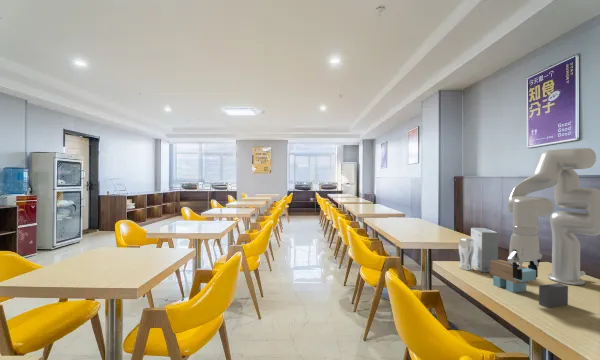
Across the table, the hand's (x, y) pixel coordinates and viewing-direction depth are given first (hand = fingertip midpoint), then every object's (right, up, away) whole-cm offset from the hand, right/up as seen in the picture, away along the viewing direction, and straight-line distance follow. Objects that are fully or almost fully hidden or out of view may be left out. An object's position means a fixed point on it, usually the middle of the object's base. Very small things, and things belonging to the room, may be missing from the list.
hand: (525, 277), depth 112 cm
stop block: (+8, -9, -4) cm, 12 cm away
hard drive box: (+9, -9, +40) cm, 42 cm away
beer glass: (0, -9, +39) cm, 40 cm away
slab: (+3, -5, +13) cm, 14 cm away
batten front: (+4, -9, +10) cm, 14 cm away
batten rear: (+2, -9, +16) cm, 18 cm away
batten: (0, -1, 0) cm, 1 cm away
